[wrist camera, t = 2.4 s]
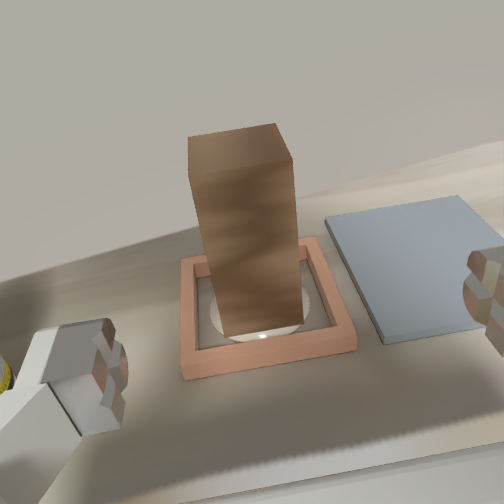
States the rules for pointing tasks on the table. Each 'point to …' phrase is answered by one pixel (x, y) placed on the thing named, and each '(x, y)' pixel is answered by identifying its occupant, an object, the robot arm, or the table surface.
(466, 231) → the rubber mat
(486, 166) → the table surface
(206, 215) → the walnut block
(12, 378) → the supplement bottle
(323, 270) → the terracotta frame
